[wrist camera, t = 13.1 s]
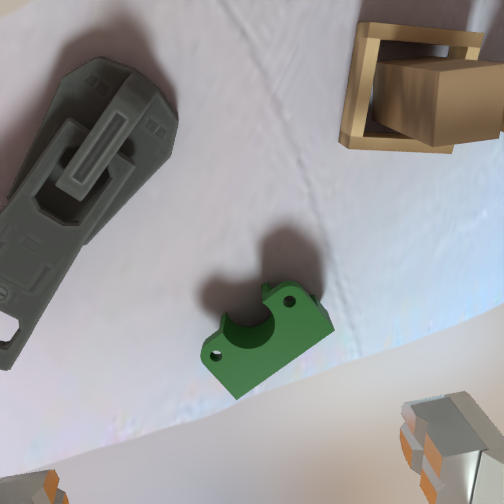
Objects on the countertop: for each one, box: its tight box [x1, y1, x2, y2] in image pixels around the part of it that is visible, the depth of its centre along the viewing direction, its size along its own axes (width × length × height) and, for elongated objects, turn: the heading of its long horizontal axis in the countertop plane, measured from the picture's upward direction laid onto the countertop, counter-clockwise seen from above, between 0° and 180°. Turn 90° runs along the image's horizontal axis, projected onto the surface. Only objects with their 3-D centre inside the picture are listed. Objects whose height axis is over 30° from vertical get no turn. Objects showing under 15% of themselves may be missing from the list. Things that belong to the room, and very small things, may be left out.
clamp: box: [200, 281, 335, 400], centre depth 42 cm, size 12×6×9 cm, turn 122°
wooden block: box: [372, 56, 504, 147], centre depth 32 cm, size 4×4×10 cm
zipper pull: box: [0, 57, 178, 371], centre depth 34 cm, size 9×7×25 cm
